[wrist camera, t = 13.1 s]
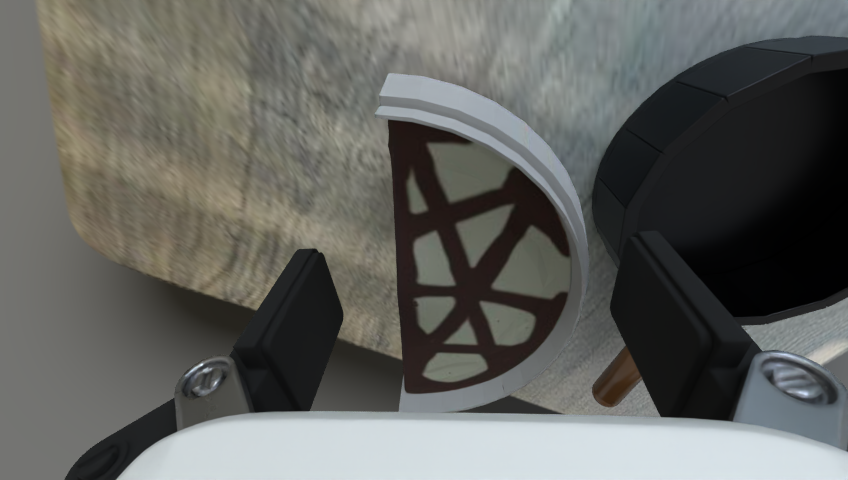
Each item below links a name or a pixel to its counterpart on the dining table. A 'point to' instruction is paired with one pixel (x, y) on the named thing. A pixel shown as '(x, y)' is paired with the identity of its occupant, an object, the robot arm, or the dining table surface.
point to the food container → (478, 246)
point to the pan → (738, 182)
